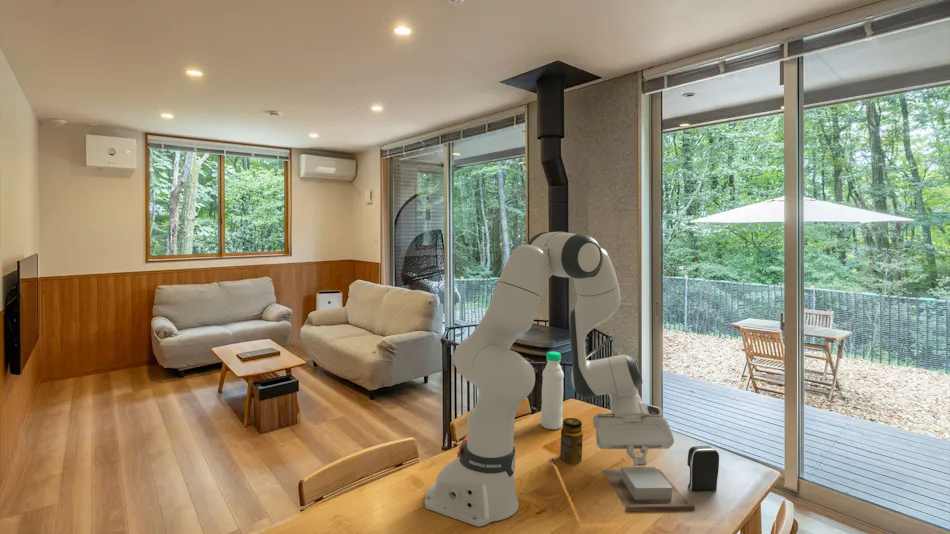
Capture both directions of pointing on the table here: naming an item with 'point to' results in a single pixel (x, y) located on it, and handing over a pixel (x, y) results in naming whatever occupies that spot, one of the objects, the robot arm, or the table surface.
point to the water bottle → (552, 392)
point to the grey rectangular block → (646, 483)
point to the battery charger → (703, 468)
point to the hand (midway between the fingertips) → (640, 465)
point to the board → (646, 505)
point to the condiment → (571, 441)
